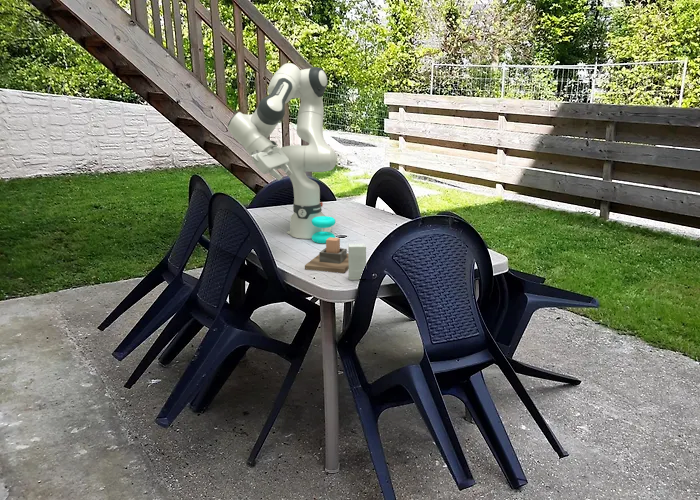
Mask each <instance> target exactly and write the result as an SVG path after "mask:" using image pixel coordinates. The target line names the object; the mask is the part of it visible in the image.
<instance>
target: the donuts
mask: <svg viewBox="0 0 700 500" xmlns="http://www.w3.org/2000/svg"><path fill="white" fill-rule="evenodd" d="M312 224H313V225H314V226H315V227H319V228H328V227H333V226H334V225H335V224H336V218H334V217H332V216H327V215H325V216H319V217H315V218H313V219H312ZM329 237H332V238H336V235H335V234H334V233H333V232H332V231H331V232H326V231H322V232H317V233H314V234H313V235H312V239H311V240H312V241H313V242H314V243H316V244H326V240H327V239H328V238H329Z"/></svg>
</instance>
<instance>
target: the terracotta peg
mask: <svg viewBox="0 0 700 500" xmlns="http://www.w3.org/2000/svg"><path fill="white" fill-rule="evenodd" d="M325 248H326V252H327V253H340V248H341V238H339V237H335V238H332V237H329V238H328V239H327V240H326V243H325Z"/></svg>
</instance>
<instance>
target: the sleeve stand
mask: <svg viewBox="0 0 700 500" xmlns="http://www.w3.org/2000/svg"><path fill="white" fill-rule="evenodd" d="M347 251H348V249H347V248H342V247H340V253H327V252H326V247H324V249H322V250H321V251H320V252H319V254H318V255H316V256H314V257H313V258H312V259H311V260H310V261H308V262H307V263H306V264H304V270H308V271H309V270H310V271H320V272H327V271H328V273H337V272H338V273H339V274H345V273H346V272H347V271H349V254H348V253H347Z"/></svg>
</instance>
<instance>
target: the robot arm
mask: <svg viewBox="0 0 700 500" xmlns="http://www.w3.org/2000/svg"><path fill="white" fill-rule="evenodd" d="M328 83H329V82H328V76H327V73H326V72H325V71H324V69H323V68H321V67H318V66H317V67H315V66H314V67H311V68H305V69H300V67H298V66H297V65H296V64H295V63H291V62H287V63H284V64H282V65H281V66H280V67H279V68H278V69H277V70H276V71H275V73H274V75H273V76H272V78H271V79H270V81H269V84H268V88H267V93H268V95H267V96H265V97H263V98H262V99H261V100H260V101H259V103H258V105H257V108H256V109H255V110H254V113H252V114H251V113H250V114H247V113H246V114H245V113H242V112H241V111H237V112H236V113H235V114H233V115H232V117H231V118H230V120H229V122H228V124H227V130H228V131H229V132H230V134H231V135H232V137H233V138H234V140H236V141H237V142H238V143H239V144H240V145H242V147H244V150H245V151H246V153H248V155H249V156H250V157H251V160H252V162H253V164H254V165H255V167H256V168H257V169H258V170H259V172H260V173H261V174H263V175H266V174H269V175H271V176H272V177H273V178H276V180H277V181H280V180H282V179H283V175H282V174H281V173H279V172H278V171H277V170H282V171H283V172H284V173H285V175H286V176H287V177H288V178H289V179H290V182H291V184H292V187H293V189H292V190H293V197H294V198H293V204H292V205H293V206H292V208H293V211H292V212H293V213H292V214H291V215H290V221H289V223H290V225H289V230H287V234H288V235H289V236H291V237H293V238H297V239H303V240H305V239H306V240H308V239H311V240H312V235H313V234H314V233H317V232H322V231H326V232H331V233H332V231H333V226H331V227H328V228H319V227H315V226H314V225H313V224H312V219H313V218H315V217H319V216H326V215H325V214H324V213H323V212H322V210H323V209H322V207H323V205H324V204H323V201H321V200H320V199H321V190H320V188H321V187H320V185H319V184H318V182H316V181H315V180H313V179H311V178H310V177H308V176H307V172H310V173H323V172H329V171H332V170H334V169H335V167H336V165H337V160H338V156H337V153H336V151H335V150H334V149H333V148H332V146H330V145H329V144H328V143H327V142H326V140H325V138H324V133H323V131H324V130H323V128H324V127H323V126H324V115H325V114H324V112H325V111H324V102H323V99H322V97H323V96H324V94H325V91H326V89H327V87H328ZM295 99H300V104H299V108H298V112H297V121H296V131H295V132H296V134H297V136H298V137H299V138H300V139H301V140H302V141H304V142H306V143H307V144H308V145H296V144H295V145H293V144H292V145H285V146H281V147H278V143H277V142H276V141H274V140H271V139H269V137H270V136H271V134H272V133H273V131H275V129H276V128H277V126H278V124H279V123H280V122H281V121H282V119H283V118H284V117H285V114H286V108H285V107H286V106H285V105H286V104H287V103H289V102H290V101H291V100H295Z"/></svg>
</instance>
